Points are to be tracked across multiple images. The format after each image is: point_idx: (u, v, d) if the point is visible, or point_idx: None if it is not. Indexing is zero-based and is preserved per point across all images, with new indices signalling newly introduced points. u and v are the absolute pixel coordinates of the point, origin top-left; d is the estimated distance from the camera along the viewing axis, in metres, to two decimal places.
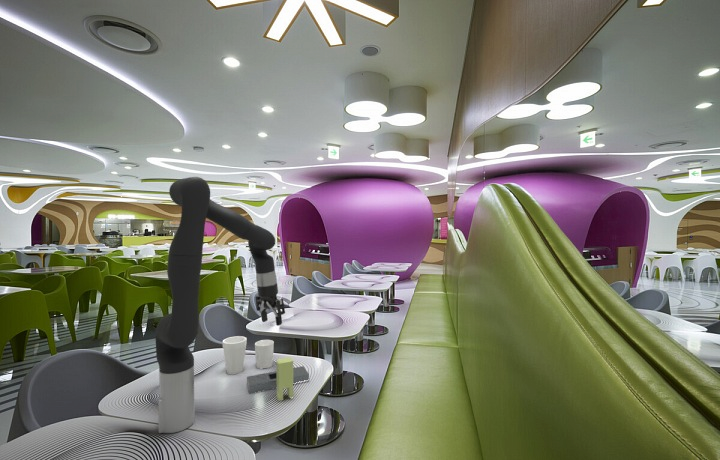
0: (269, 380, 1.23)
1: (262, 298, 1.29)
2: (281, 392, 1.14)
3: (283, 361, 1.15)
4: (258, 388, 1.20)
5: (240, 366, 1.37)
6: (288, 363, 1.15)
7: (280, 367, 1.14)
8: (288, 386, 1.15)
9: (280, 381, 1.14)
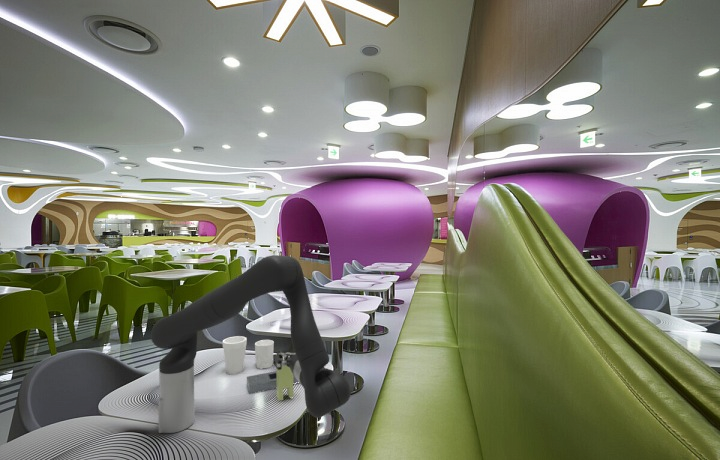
0: (269, 380, 1.23)
1: None
2: (281, 392, 1.14)
3: None
4: (258, 388, 1.20)
5: (240, 366, 1.37)
6: None
7: None
8: (288, 386, 1.15)
9: (280, 381, 1.14)
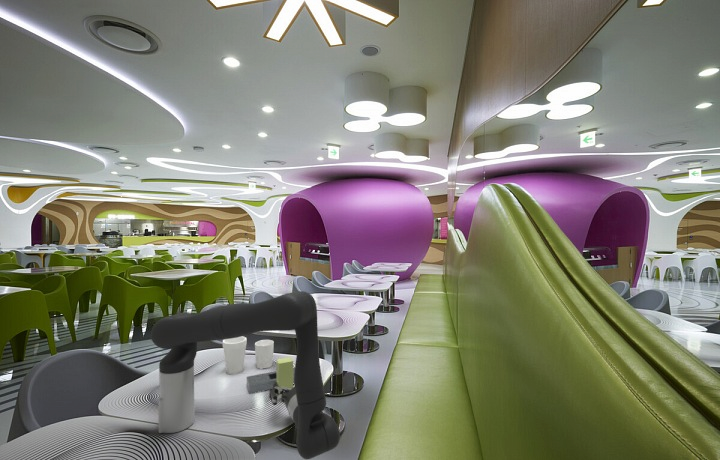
0: (269, 380, 1.23)
1: None
2: None
3: (283, 361, 1.15)
4: (258, 388, 1.20)
5: (240, 366, 1.37)
6: (288, 363, 1.15)
7: (280, 367, 1.14)
8: (288, 386, 1.15)
9: (280, 381, 1.14)
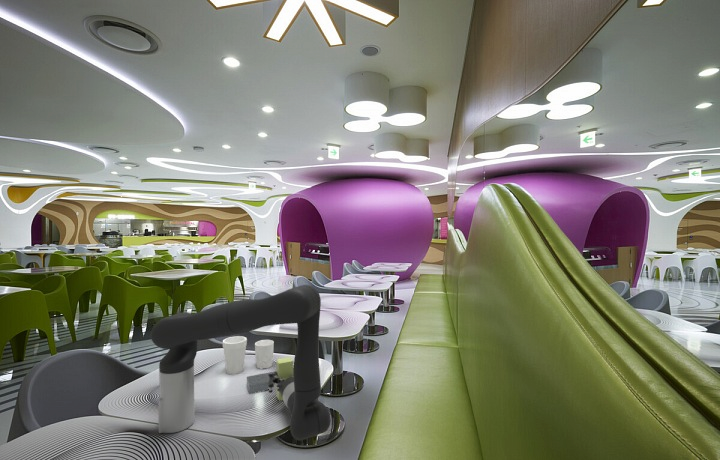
0: None
1: None
2: None
3: (283, 361, 1.15)
4: (258, 388, 1.20)
5: (240, 366, 1.37)
6: (288, 362, 1.15)
7: (280, 367, 1.14)
8: None
9: None
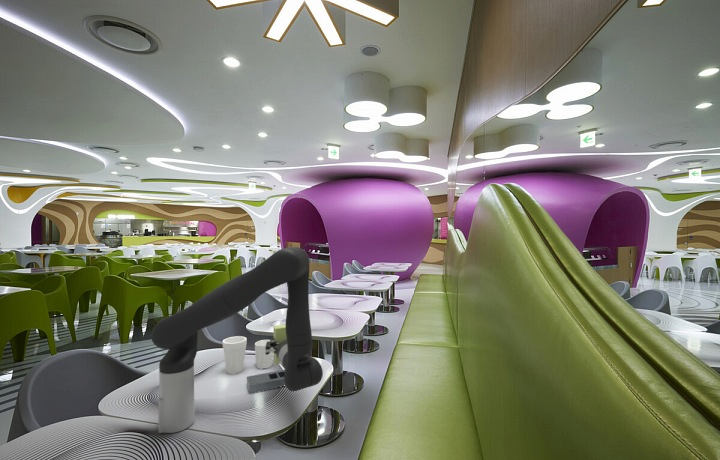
0: (269, 380, 1.23)
1: None
2: None
3: (280, 327, 1.20)
4: (258, 388, 1.20)
5: (240, 366, 1.37)
6: (284, 328, 1.20)
7: (277, 332, 1.19)
8: None
9: None
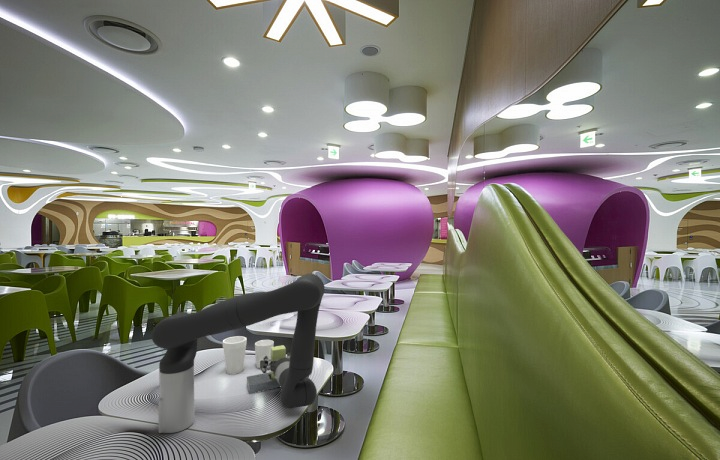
0: (269, 380, 1.23)
1: None
2: None
3: (276, 348, 1.26)
4: (258, 388, 1.20)
5: (240, 366, 1.37)
6: (281, 350, 1.26)
7: (274, 354, 1.25)
8: None
9: None
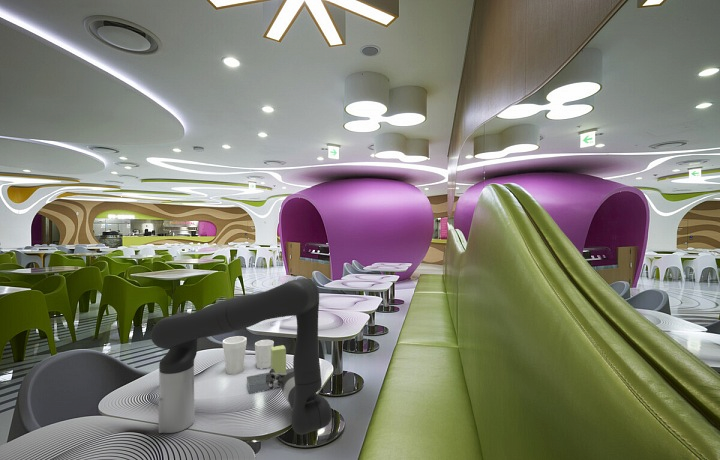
0: None
1: None
2: (275, 376, 1.25)
3: (276, 348, 1.26)
4: (258, 388, 1.20)
5: (240, 366, 1.37)
6: (281, 350, 1.26)
7: (274, 354, 1.25)
8: (281, 371, 1.26)
9: (274, 366, 1.25)
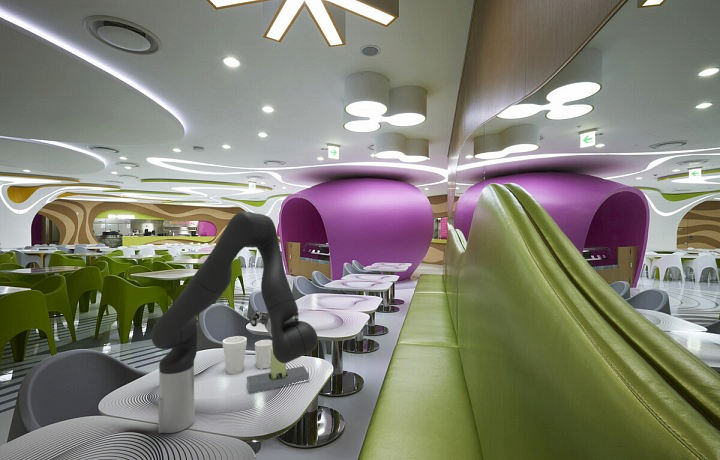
0: (269, 380, 1.23)
1: None
2: (275, 376, 1.25)
3: None
4: (258, 388, 1.20)
5: (240, 366, 1.37)
6: None
7: None
8: (281, 371, 1.26)
9: (274, 366, 1.25)
